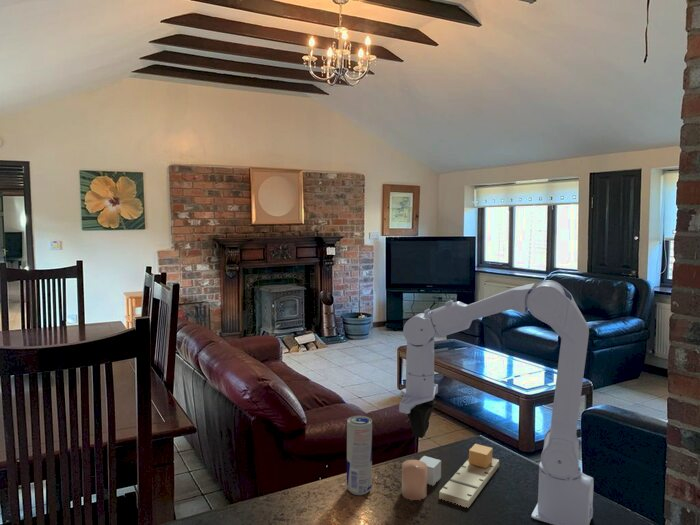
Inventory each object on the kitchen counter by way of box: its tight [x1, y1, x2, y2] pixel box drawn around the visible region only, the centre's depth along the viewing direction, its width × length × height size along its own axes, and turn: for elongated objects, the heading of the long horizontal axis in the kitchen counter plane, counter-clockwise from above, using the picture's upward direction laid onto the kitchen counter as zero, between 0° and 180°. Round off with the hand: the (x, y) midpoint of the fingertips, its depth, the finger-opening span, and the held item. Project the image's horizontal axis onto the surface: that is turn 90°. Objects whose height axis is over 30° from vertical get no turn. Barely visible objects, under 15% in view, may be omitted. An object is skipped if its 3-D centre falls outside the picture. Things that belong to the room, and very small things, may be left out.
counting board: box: [438, 457, 500, 509], centre depth 110 cm, size 6×20×2 cm, turn 147°
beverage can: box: [346, 415, 373, 496], centre depth 105 cm, size 5×5×15 cm
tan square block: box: [468, 443, 494, 468], centre depth 114 cm, size 4×4×3 cm
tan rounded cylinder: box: [401, 459, 428, 501], centre depth 105 cm, size 5×5×6 cm
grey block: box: [419, 455, 442, 487], centre depth 111 cm, size 4×4×4 cm
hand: (418, 436), depth 108 cm, fingers closed
